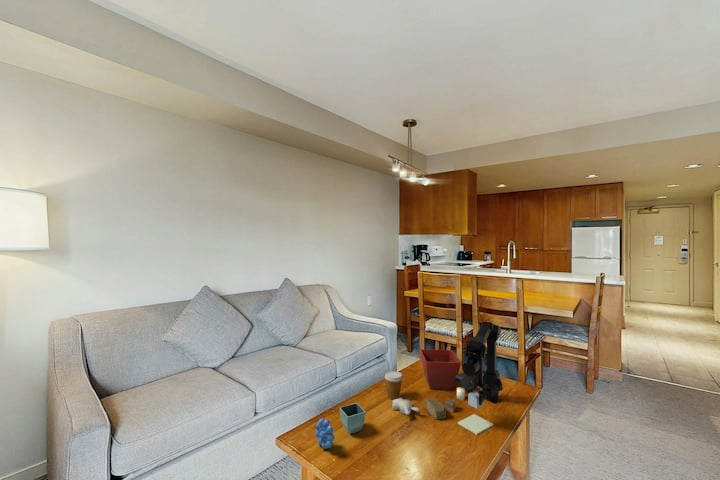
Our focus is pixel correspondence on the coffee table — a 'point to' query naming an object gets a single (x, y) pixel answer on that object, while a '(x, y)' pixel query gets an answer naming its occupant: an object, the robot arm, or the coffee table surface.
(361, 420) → the flower pot
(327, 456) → the coffee table surface
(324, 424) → the grapes
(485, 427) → the felt mat
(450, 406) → the walnut cube
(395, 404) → the bunny figurine
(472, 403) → the slate-blue block
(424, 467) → the coffee table surface
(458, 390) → the ivory rounded cylinder
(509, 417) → the coffee table surface
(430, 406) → the stone block
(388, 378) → the disposable coffee cup
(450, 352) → the plant pot
